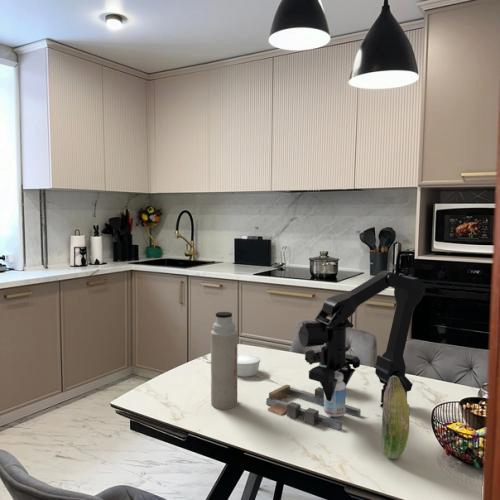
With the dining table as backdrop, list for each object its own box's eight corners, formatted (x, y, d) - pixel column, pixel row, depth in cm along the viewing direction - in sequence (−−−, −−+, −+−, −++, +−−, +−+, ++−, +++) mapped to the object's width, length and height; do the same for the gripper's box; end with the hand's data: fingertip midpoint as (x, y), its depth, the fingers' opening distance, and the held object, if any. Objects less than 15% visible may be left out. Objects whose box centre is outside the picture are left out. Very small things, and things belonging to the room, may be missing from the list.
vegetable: (408, 455, 109) (411, 374, 107) (406, 469, 103) (409, 383, 102) (382, 450, 112) (385, 371, 110) (379, 463, 106) (381, 379, 104)
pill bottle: (344, 408, 132) (344, 370, 131) (346, 417, 126) (347, 378, 125) (323, 407, 133) (323, 369, 132) (324, 416, 127) (324, 377, 126)
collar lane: (365, 411, 133) (365, 400, 133) (333, 434, 119) (333, 421, 119) (294, 389, 149) (294, 379, 149) (259, 407, 136) (259, 395, 135)
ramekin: (224, 370, 168) (224, 356, 167) (251, 365, 172) (251, 352, 172) (236, 380, 157) (236, 365, 157) (265, 375, 162) (265, 361, 162)
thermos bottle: (239, 399, 141) (240, 310, 139) (233, 410, 134) (233, 316, 131) (215, 397, 143) (214, 309, 141) (207, 407, 135) (207, 315, 133)
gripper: (328, 331, 140) (327, 380, 141) (292, 345, 126) (292, 399, 127) (361, 338, 133) (360, 390, 134) (327, 353, 118) (326, 411, 120)
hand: (334, 397), depth 129 cm, fingers closed on pill bottle, 6 cm apart
